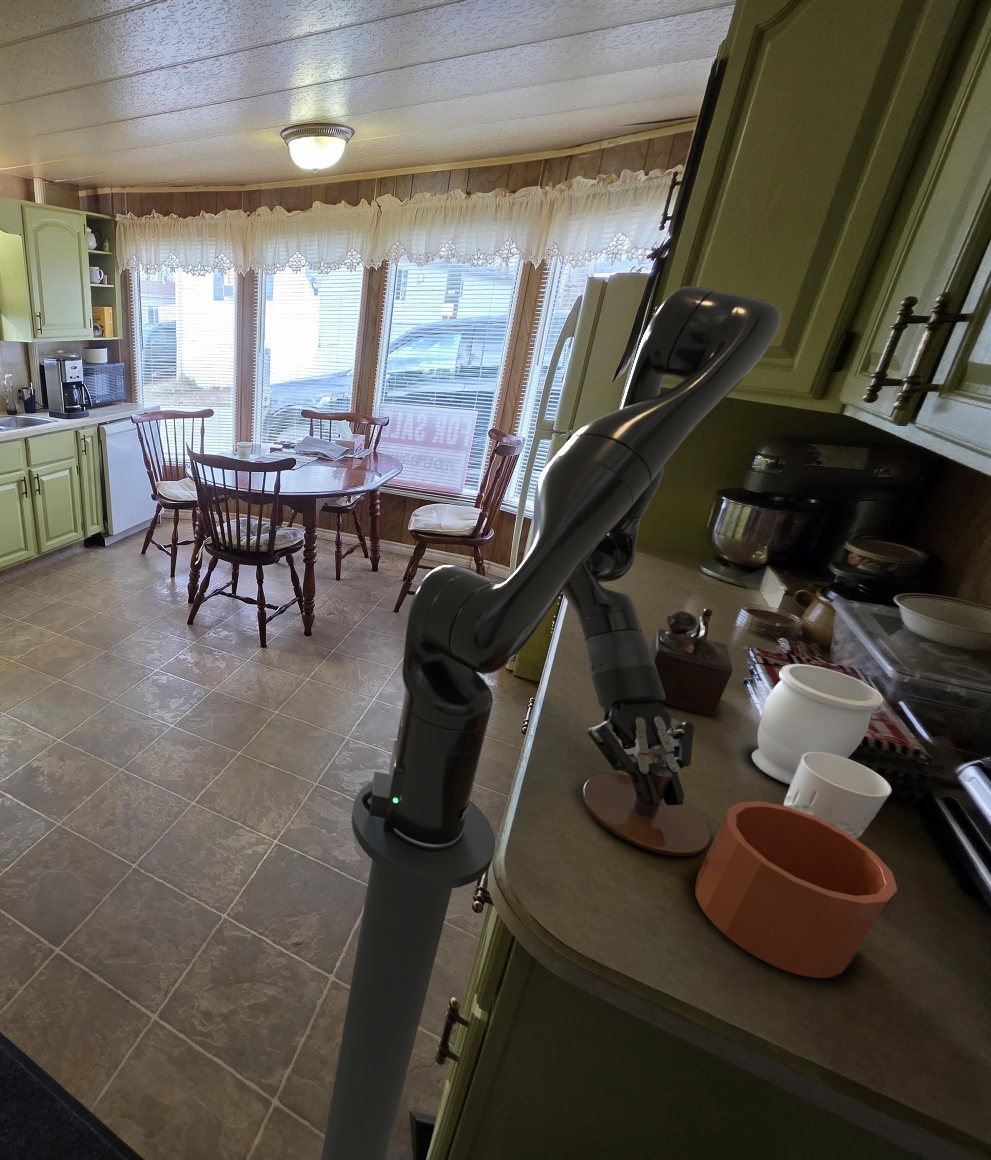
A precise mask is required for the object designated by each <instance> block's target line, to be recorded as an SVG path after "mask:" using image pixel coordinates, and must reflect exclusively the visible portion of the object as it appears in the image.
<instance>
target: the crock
mask: <svg viewBox="0 0 991 1160" xmlns="http://www.w3.org/2000/svg"><path fill="white" fill-rule="evenodd" d="M897 892H898V887H897V884H896V879H895V876H894V873H893V872H892V870H891V869H890V868H889V867H888V866H887V865H886V864H885V862H884V861H882V859H881V858H880V857H879V856H878V855H877V853H875V852H874V851H873V850H872V849H870V848H869V847H868V846H866V845H864V844H863V843H862V842H861V841H859V840H858V839H855V838H854V837H852V836H851V835H849V834H848V833H846V832H844V831H842V830H840V829H838V828H837V827H835V826H833V825H831V824H829V823H827V822H825V821H823V820H821V819H819V818H817V817H815V816H812V815H809V814H806V813H804V812H801V811H798V810H795V809H792V808H790V807H787V806H784V804H783V805H782V804H776V803H773V802H766V801H760V800H754V801H741V802H737V803H735V804H734V805H733V806H731V807H730V808H729V809H727V810H726V812H725V814H724V817H723V819H722V821H721V823H720V826H719V828H718V830H717V832H716V835H715V836H714V838H713V841H712V843H711V845H710V847H709V849H708V851H707V854H706V856H705V858H704V859H703V863H702V865H701V867H700V869H699V871H698V874H697V875H696V881H695V884H694V893H695V898H696V900H697V902H698V905H699V907H700V908H701V910H702V912H703V913H704V915H705V916H706V917H707V918H708V920H709V921H710V922H711V923H712V924H713V925H714V926H715V927H716V928H717V930H719V931H720V932H721V933H722V934H723V935H724V936H726V938H728V940H731V942H733V943H734V944H736V945H737V946H738V947H739V948H741V949H743V950H744V951H746V952H747V953H749V954H750V955H752V956H754V957H755V958H757V959H759V960H761V961H763V962H765V963H767V964H769V965H771V966H774V967H776V968H778V969H780V970H783V971H786V972H789V973H791V974H795V975H799V976H802V977H807V978H812V979H813V978H815V979H830V978H834V977H837V976H839V975H841V974H842V973H844V972H845V971H846V969H847V968H848V966H850V965H851V963H852V962H853V960H854V959H855V958H856V956H857V955H858V953H859V951H860V949H861V948H862V946H863V945H864V943H865V942H866V940H867V938H868V937H869V935H870V934H871V933H872V931H873V929H874V927H875V926H876V925H877V923H878V922H879V920H880V918H881V917H882V915H883V914H884V912H885V911H886V909H887V908H888V906H889V904H890V903H891V901H892V900H893V899H894V897H895V895H896V893H897Z"/></svg>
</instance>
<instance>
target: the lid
mask: <svg viewBox="0 0 991 1160" xmlns="http://www.w3.org/2000/svg"><path fill="white" fill-rule="evenodd" d="M648 767H649V772H648V773H647V775H649V774H651V776H652V779H653V782H654V786H655V789H656V792H657V796H658V799H659V803H660V804H659V806H648V807H645V806H643V805H642V804H641V802H639V800H638V799H637V796H636V792H635V789H634V786H633V782H632V779H631V776H630V775H629V774H621V773H601V774H598V775H594V776H592V777H590V778H589V779H588V780H587V781H586V782H585V784H584V786H583V788H582V798H583V802H584V804H585V806H586V808H587V810H588V811H589V812H590V814H591V815H592V816H593V817H594V818H595V819H596V820H597V821H598V822H599V823H600V824H601V825H602V826H603V827H605V828H606V829H607V830H609V831H610V832H611V833H612V834H614V835H616V836H618V837H619V838H621V839H623V840H624V841H627V842H629V843H630V844H632V845H634V846H637V847H639V848H642V849H644V850H647V851H650V852H653V853H657V854H662V855H665V856H672V857H673V856H674V857H689V856H694V855H697V854H699V853H701V852H703V851H704V850H705V849H706V848H707V847H708V845H709V842H710V838H711V834H710V829H709V826H708V824H707V822H706V821H705V819H704V818H703V816H702V815H701V814H700V813H699V812H698V811H697V810H696V809H695V808H694V807H693V806H692V805H691V804H690V803H688V802H687V801H686V800H685V799H683V804H682V805H667V804H666V803H665V801H664V798H663V797H664V794H665V792H666V789H667V787H668V784H669V782H670V779H671V777H672V772H671V771H670V770H669V769H668V768H666V767H665V766H663V765H660V764H656V763H653V762H651V763H648Z"/></svg>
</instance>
